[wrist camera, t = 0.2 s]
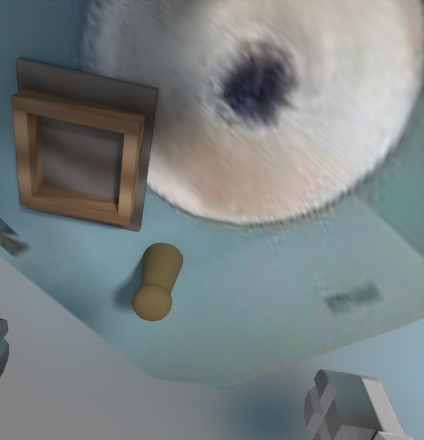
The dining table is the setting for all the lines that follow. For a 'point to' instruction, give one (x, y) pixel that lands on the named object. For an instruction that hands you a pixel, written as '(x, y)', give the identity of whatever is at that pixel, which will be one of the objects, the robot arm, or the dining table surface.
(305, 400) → the robot arm
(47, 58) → the dining table surface
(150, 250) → the cork
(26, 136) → the collar
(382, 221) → the dining table surface
